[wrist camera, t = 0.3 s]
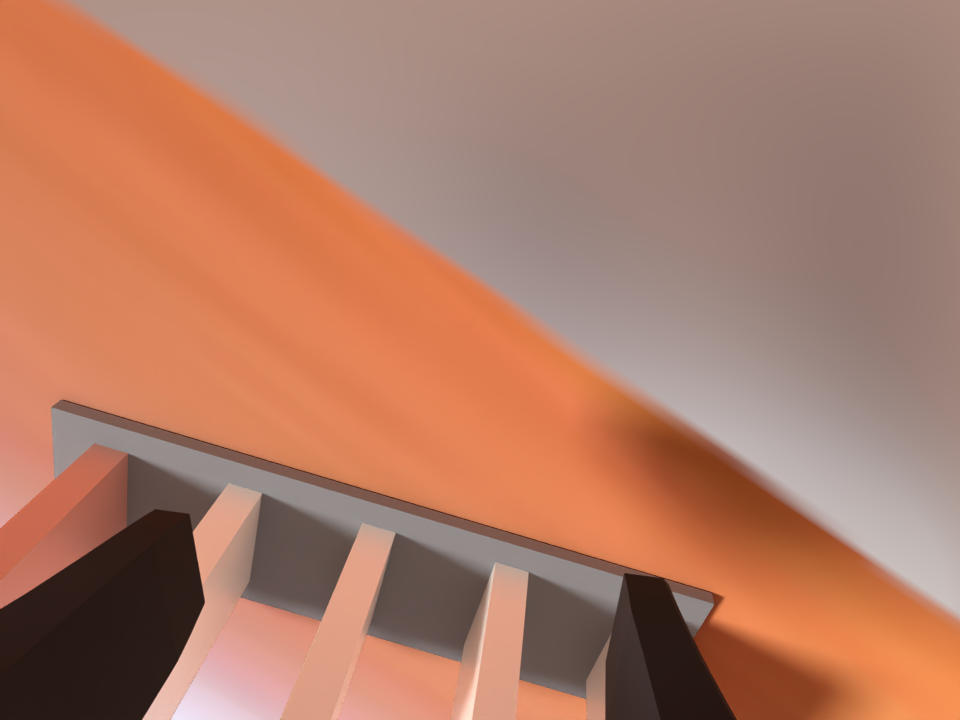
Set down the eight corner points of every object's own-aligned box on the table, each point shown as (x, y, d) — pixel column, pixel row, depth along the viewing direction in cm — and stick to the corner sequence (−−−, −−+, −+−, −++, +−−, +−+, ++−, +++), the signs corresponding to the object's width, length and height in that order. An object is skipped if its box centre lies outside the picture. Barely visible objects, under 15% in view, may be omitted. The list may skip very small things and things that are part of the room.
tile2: (528, 572, 24) (505, 833, 16) (494, 653, 26) (460, 917, 18) (495, 562, 24) (457, 818, 16) (464, 644, 26) (417, 905, 18)
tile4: (262, 493, 24) (115, 719, 16) (249, 581, 26) (114, 817, 18) (228, 483, 24) (66, 704, 16) (218, 572, 26) (71, 804, 18)
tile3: (395, 532, 24) (311, 776, 16) (372, 617, 26) (287, 867, 18) (362, 522, 24) (262, 762, 16) (341, 608, 26) (244, 854, 18)
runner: (712, 592, 24) (714, 604, 23) (643, 704, 27) (644, 716, 26) (60, 399, 24) (51, 407, 23) (66, 534, 27) (57, 543, 26)
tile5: (128, 453, 24) (-82, 661, 16) (126, 544, 26) (-60, 766, 18) (94, 443, 24) (-131, 647, 16) (95, 535, 26) (-103, 753, 18)
